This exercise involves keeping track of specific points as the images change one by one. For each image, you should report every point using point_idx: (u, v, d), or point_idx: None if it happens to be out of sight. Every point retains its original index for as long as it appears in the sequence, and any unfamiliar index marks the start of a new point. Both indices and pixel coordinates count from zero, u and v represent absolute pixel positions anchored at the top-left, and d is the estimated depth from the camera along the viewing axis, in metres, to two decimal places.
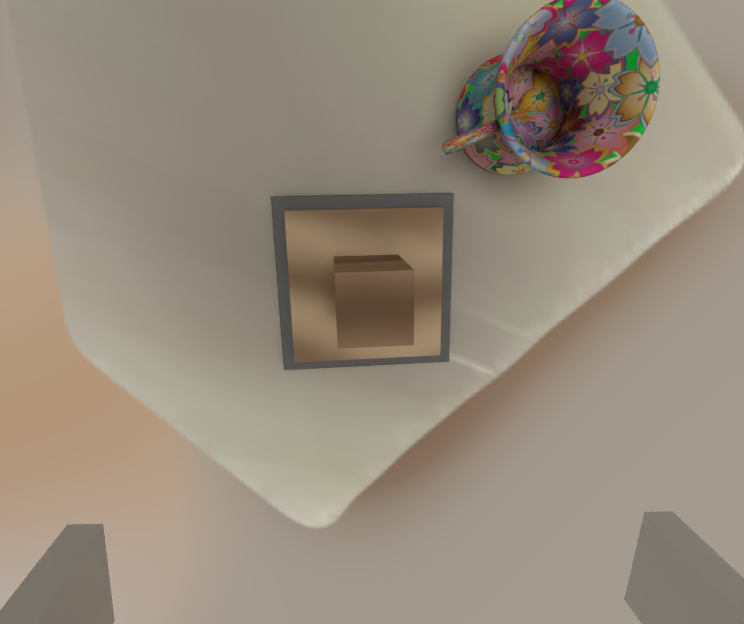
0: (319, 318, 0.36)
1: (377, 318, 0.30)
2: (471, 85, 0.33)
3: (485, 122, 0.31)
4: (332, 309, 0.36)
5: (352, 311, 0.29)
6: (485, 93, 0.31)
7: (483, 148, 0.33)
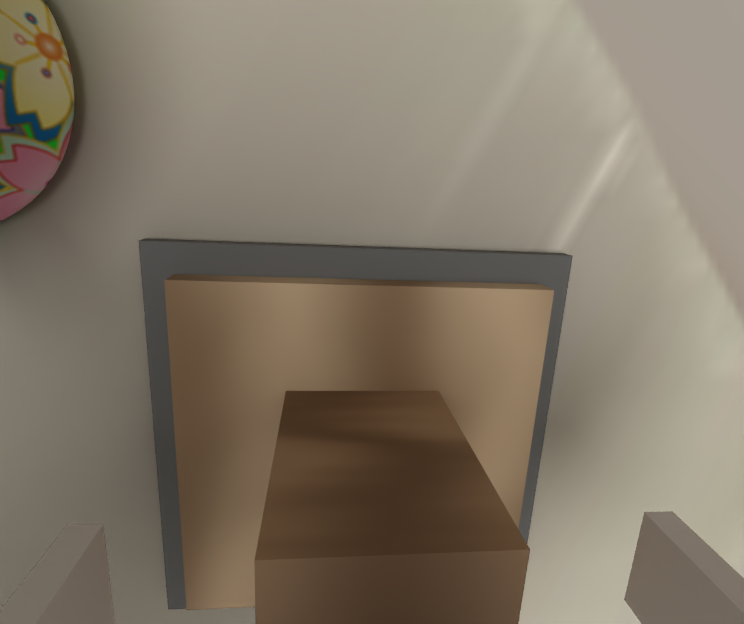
0: None
1: None
2: None
3: None
4: None
5: None
6: None
7: None
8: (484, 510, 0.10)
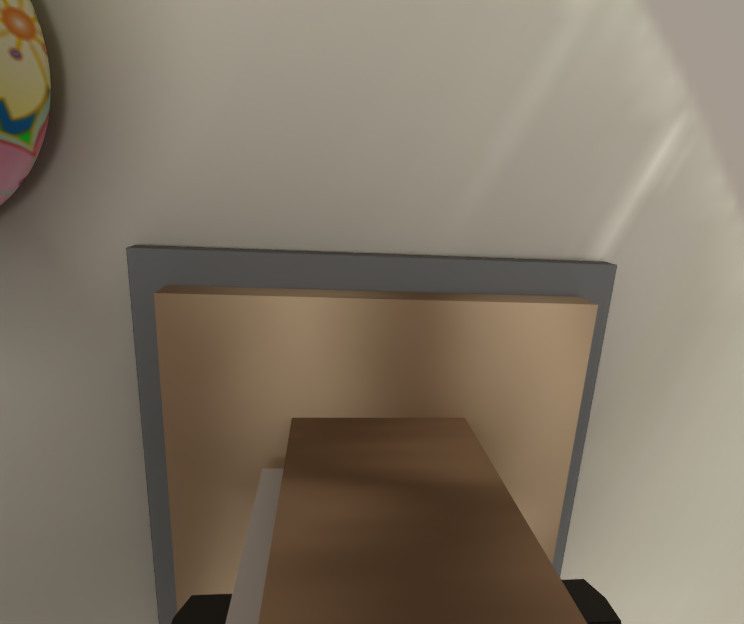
0: None
1: None
2: None
3: None
4: None
5: None
6: None
7: None
8: (535, 584, 0.08)
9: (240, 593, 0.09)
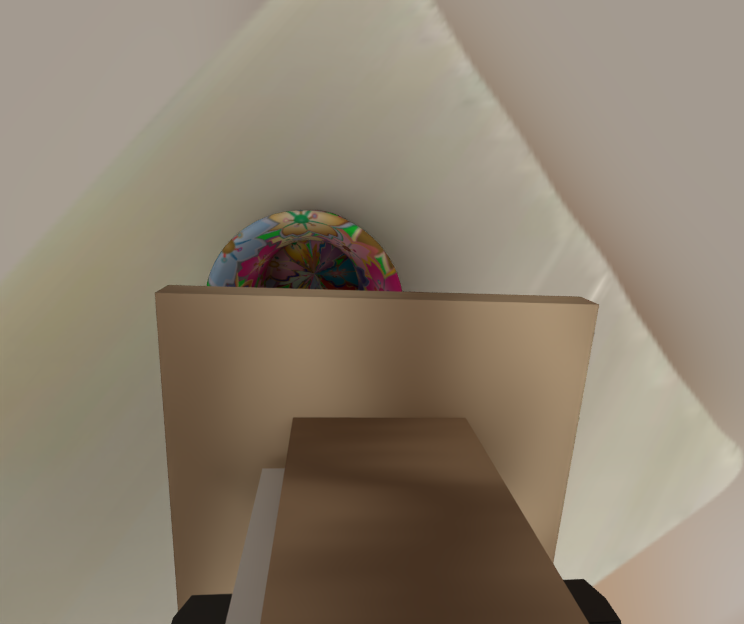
0: None
1: None
2: None
3: None
4: None
5: None
6: None
7: None
8: (537, 584, 0.08)
9: (240, 593, 0.09)
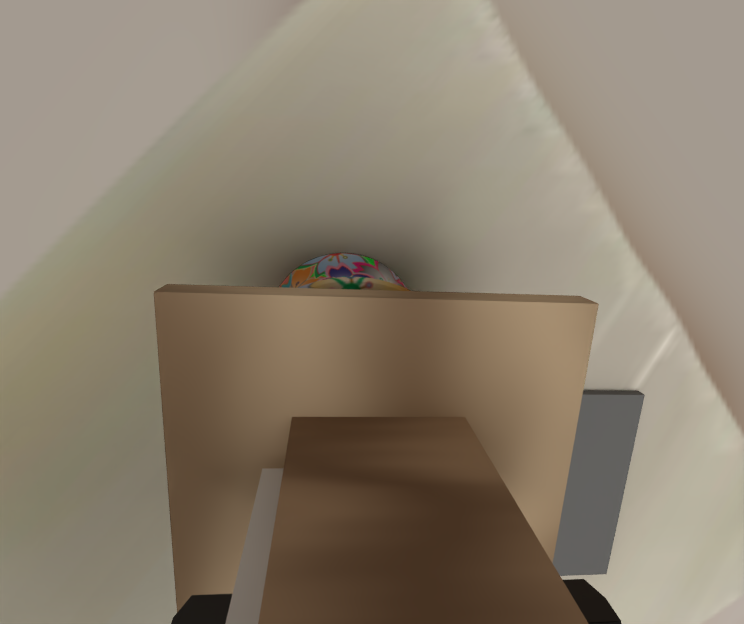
0: None
1: None
2: None
3: None
4: None
5: None
6: None
7: None
8: (536, 583, 0.08)
9: (240, 593, 0.09)
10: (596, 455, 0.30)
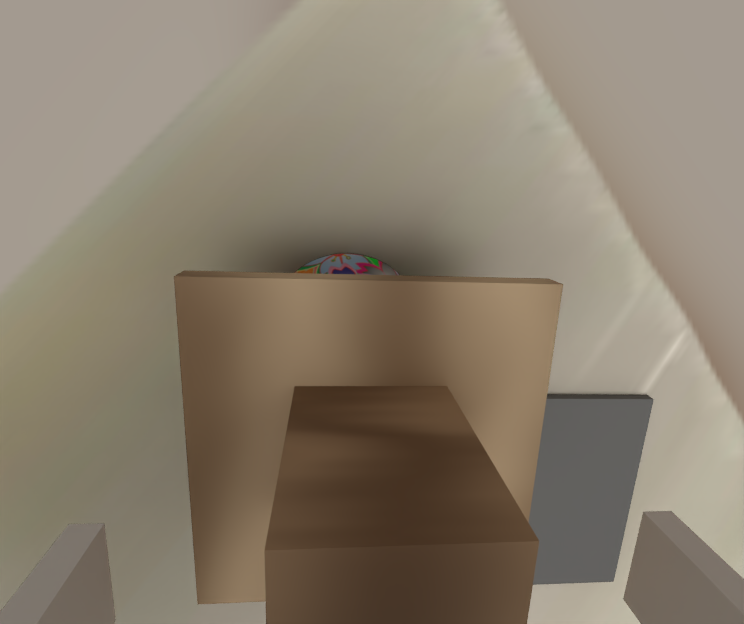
0: None
1: None
2: None
3: None
4: None
5: None
6: None
7: None
8: (493, 502, 0.10)
9: None
10: (604, 461, 0.30)
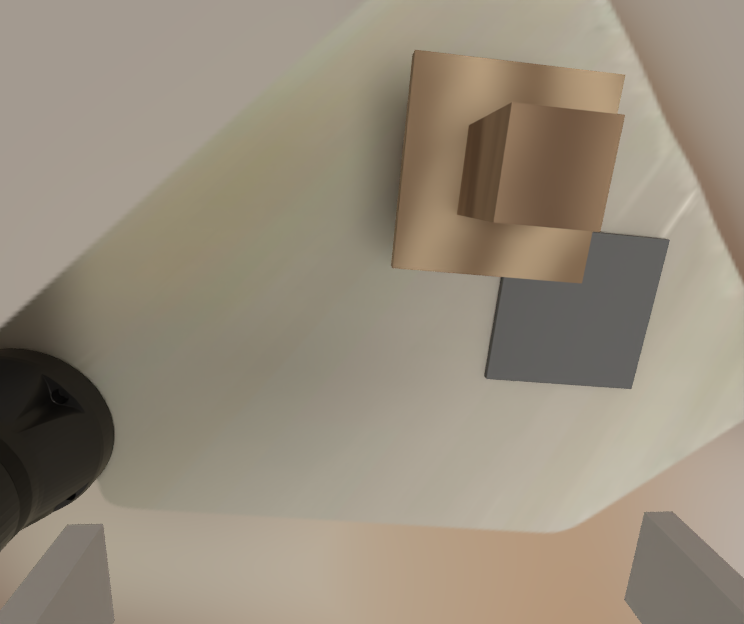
0: (532, 243, 0.28)
1: (571, 168, 0.20)
2: None
3: None
4: (524, 225, 0.28)
5: (552, 203, 0.21)
6: None
7: None
8: None
9: None
10: (630, 286, 0.41)
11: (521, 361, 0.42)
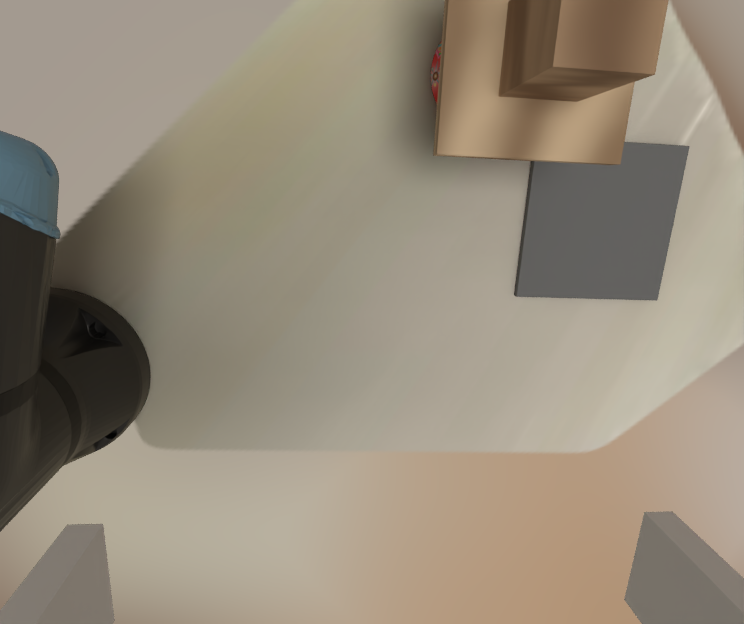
0: (572, 124, 0.29)
1: (626, 7, 0.21)
2: None
3: None
4: (563, 105, 0.28)
5: (608, 45, 0.21)
6: None
7: None
8: None
9: None
10: (653, 195, 0.41)
11: (549, 277, 0.43)
